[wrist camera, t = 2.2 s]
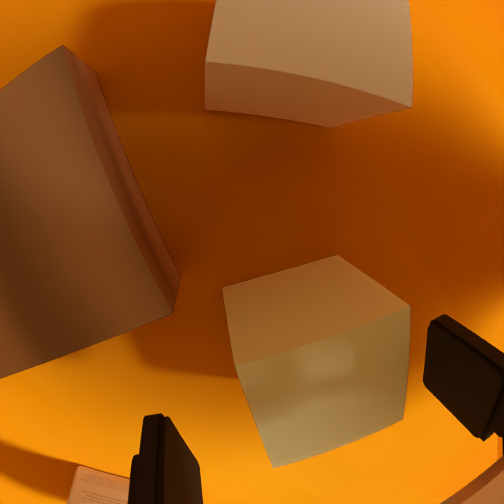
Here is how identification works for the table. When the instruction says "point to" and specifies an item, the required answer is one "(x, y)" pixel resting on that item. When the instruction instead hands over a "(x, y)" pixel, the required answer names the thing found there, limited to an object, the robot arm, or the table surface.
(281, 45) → the grey block
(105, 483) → the supplement box
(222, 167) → the table surface
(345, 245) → the table surface
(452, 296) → the table surface
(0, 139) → the walnut base
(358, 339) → the beige block
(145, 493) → the robot arm
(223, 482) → the table surface
